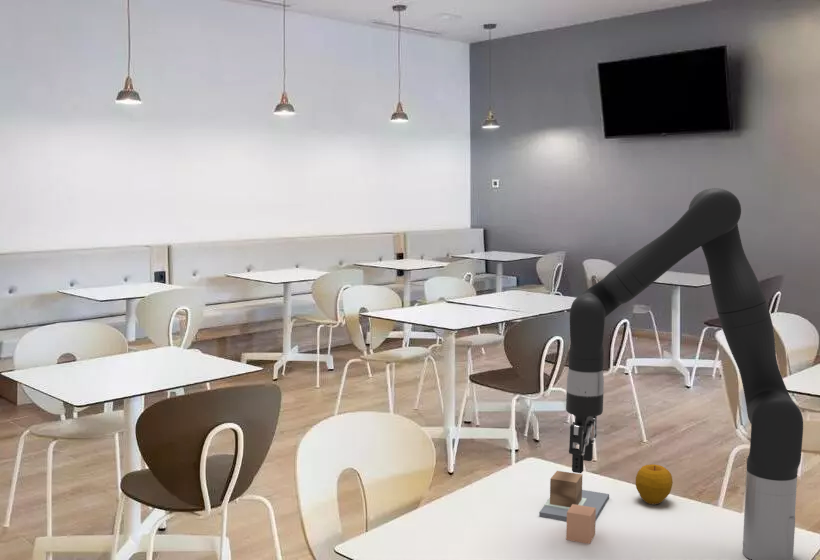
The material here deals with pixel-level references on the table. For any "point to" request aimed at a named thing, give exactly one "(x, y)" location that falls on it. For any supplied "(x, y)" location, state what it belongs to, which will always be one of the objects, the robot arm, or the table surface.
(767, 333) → the robot arm
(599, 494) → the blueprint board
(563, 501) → the walnut block
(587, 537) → the terracotta block
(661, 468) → the apple
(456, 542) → the table surface
